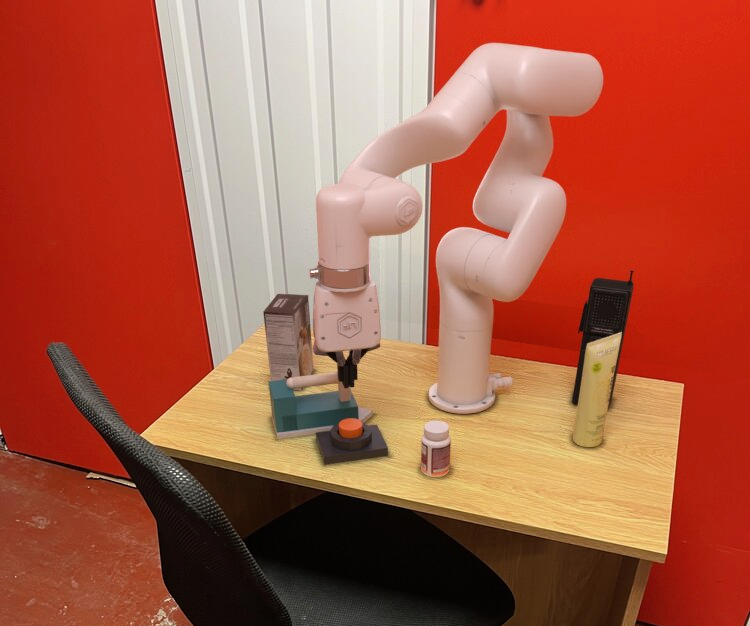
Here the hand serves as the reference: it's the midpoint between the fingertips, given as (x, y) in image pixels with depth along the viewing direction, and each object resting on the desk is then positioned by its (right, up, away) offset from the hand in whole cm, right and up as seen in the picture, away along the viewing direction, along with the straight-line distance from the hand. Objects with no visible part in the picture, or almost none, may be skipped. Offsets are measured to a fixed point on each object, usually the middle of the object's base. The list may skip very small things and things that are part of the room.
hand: (347, 384), depth 126 cm
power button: (0, -7, +6) cm, 9 cm away
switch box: (0, -10, +8) cm, 13 cm away
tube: (+41, -9, +9) cm, 43 cm away
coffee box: (-12, +5, +29) cm, 31 cm away
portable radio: (+45, 0, +20) cm, 49 cm away
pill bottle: (+14, -14, +2) cm, 20 cm away
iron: (-5, -5, +15) cm, 16 cm away
